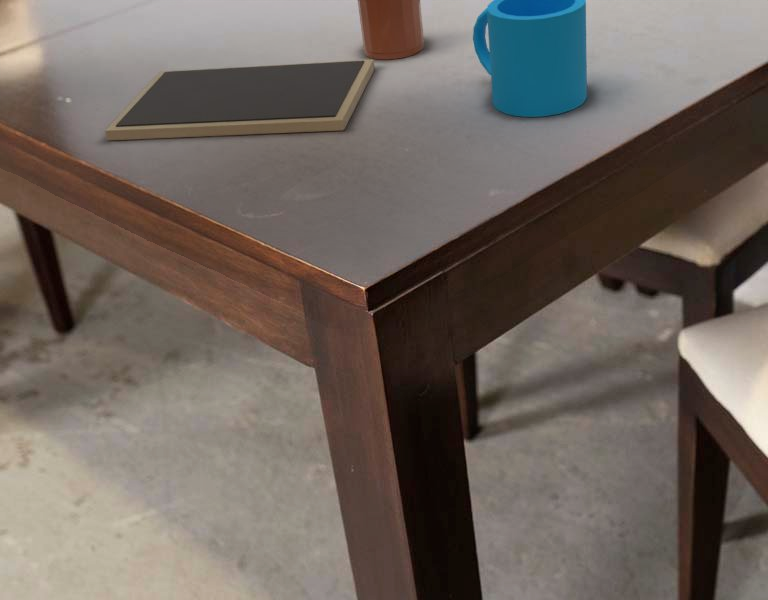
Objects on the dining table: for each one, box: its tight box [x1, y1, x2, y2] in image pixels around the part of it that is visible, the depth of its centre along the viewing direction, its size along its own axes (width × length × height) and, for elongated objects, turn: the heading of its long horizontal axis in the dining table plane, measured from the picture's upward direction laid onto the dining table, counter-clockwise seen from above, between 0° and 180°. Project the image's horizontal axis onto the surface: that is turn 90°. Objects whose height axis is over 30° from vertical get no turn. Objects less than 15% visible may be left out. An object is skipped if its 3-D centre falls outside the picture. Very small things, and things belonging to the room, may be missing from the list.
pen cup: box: [357, 0, 425, 61], centre depth 109 cm, size 6×6×8 cm
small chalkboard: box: [105, 58, 376, 141], centre depth 103 cm, size 22×15×1 cm
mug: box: [472, 0, 588, 118], centre depth 95 cm, size 12×8×8 cm
